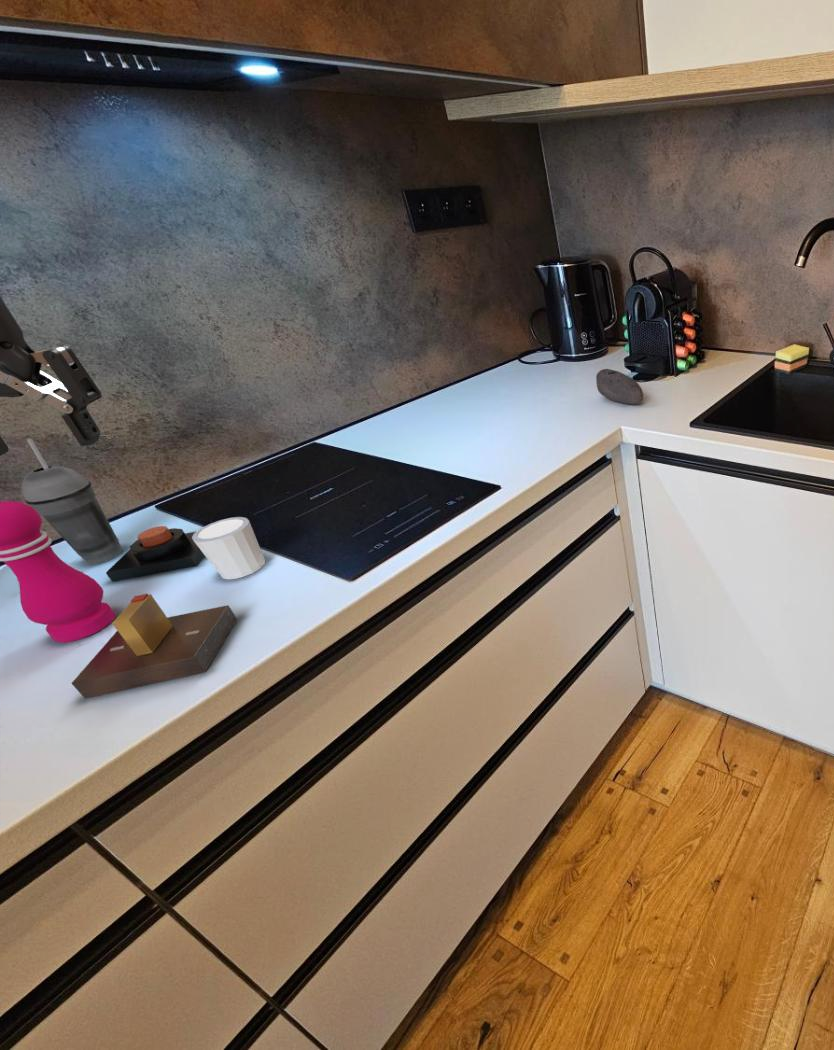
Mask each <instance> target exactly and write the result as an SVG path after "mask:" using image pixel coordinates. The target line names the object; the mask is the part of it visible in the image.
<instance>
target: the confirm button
mask: <svg viewBox="0 0 834 1050" xmlns="http://www.w3.org/2000/svg"><path fill="white" fill-rule="evenodd" d="M168 529H169V528H168V527H167V526H166V525H158V526H154V527H150V528H148V529H145V530H143V531H141V532H140V533H139V534H138V535H137V540H138V539H139V540H140V542H141V543H142V545H143V546H144V547H150V546H155V545H158V544H161V543H164V542H166V541H167V540H169V539H171V538H172V537H173V536H172V534H171V533H170V531H169V530H168Z"/></svg>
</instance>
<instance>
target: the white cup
mask: <svg viewBox="0 0 834 1050" xmlns="http://www.w3.org/2000/svg"><path fill="white" fill-rule="evenodd" d="M196 531H197V532H196ZM196 531H194V532H195V533H194V535H193V536H192V539H193V541H194V542H195V543H196V545H197V546H198V547H199V548H200V550H201V551H202V552H203V554H204V555H205V556H204V557H205V558H206V559H207V560H208V561H209V563H210V564H211V565H212V566H213V568H214V569H215V571H216V572H217V573H218V574H219V576H220V577H221V578H222V579H224V580H237V579H240V578H245V577H247V576H249V575H252V574H254V573H256V572H257V571H259V570H260V569H262V567H264V566H265V563H266V559H265V557H264V554H263V552H262V549H261V547H260V544H259V542H258V540H257V537H256V534H255V532H254V529H253V527H252V524H251V522H250V520H249V519H248V518H247V517H243V516H235V517H228V518H224V519H220V520H217V521H214V522H211V523H209V524H207V525H205V526H203V527H200V529H198V530H196Z"/></svg>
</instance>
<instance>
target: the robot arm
mask: <svg viewBox="0 0 834 1050" xmlns="http://www.w3.org/2000/svg"><path fill="white" fill-rule="evenodd" d="M42 365H44V367H45V368H46V369H47V370H50V371H53V373H54V374H55V376H56V377H57V378H58V379H59V380H58V379H57V378H55V377H53V376H51V375H49V374H48V373H46V372H44V371H42ZM38 385H39V386H38ZM23 396H26V397H28V398H30V399H32V400H34V401H36V402H42V403H45V404H46V405H48V406H50V407H52V408H54V409H55V410H57V411H59V412H61V413H63V414H61V415H60V416H61V418H62V419H63V421H64V423H65V424H66V425H67V428H68V429H69V430H70V432H71V433H72V435H73V437H74V438H75V440H76V441H77V443H78V444H79V445H80V446H82V447H86V446H92V445H93V444H95V443H97V442H99V440H100V436H101V429H100V428H99V426H98V425H97V423H96V422H95V420H94V418H93V417H92V415H91V413H90V412H89V411H88V405H90V404H92V403H94V402H96V401H98V400H100V399H101V398H102V397H103V393H102V392H101V391H100V389H99V387H98V386H97V384H96V383H95V382H94V380H93V378H91V376H90V374H89V372H88V371H87V370H86V368H85V367H84V365H83V364H82V363H81V361H80V359H79V358H78V357H77V355H76V354H75V352H74V351H73V349H72V348H71V347H69V346H68V345H65V344H60V345H57V346H54V347H51V348H48V349H41V350H35V349H34V348H32V347H31V346H30V345H29V344H28V343H27V342H26V340H25V336H24V331H23V329H22V328H21V326H20V324H18V322H17V320H16V318H15V317H14V315H13V314H12V312H11V311H10V308H9V307H8V306H7V304H6V303H5V302H4V299H3V298H2V297H1V296H0V398H21V397H23ZM8 452H9V446H8V445H7V444H6V442H5V440H4V439H3V438H2V437H1V436H0V457H1V456H3V455H5V454H7V453H8Z"/></svg>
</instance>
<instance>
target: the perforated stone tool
mask: <svg viewBox="0 0 834 1050" xmlns="http://www.w3.org/2000/svg"><path fill="white" fill-rule="evenodd" d="M595 378H596V379H595V380H596V381H595V382H596V388H597V389H596V390H597V391H598V392H599V394H600V395H601V396H603V397H604V398H606V399H608V400H609V401H613V402H617V403H621V404H626V405H632V406H636V405H640V404H642V402H643V400H644V392H643V389H642V387H641V386H640V385H639V383H638V382H637V381H636V380H635V379H633V378H632V377H630V376H628V375H627V374H625V373H624V372H620V371H619V370H613V369H610V368H604V369H601V370H599V371H598V372H597V373H596V376H595Z"/></svg>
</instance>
